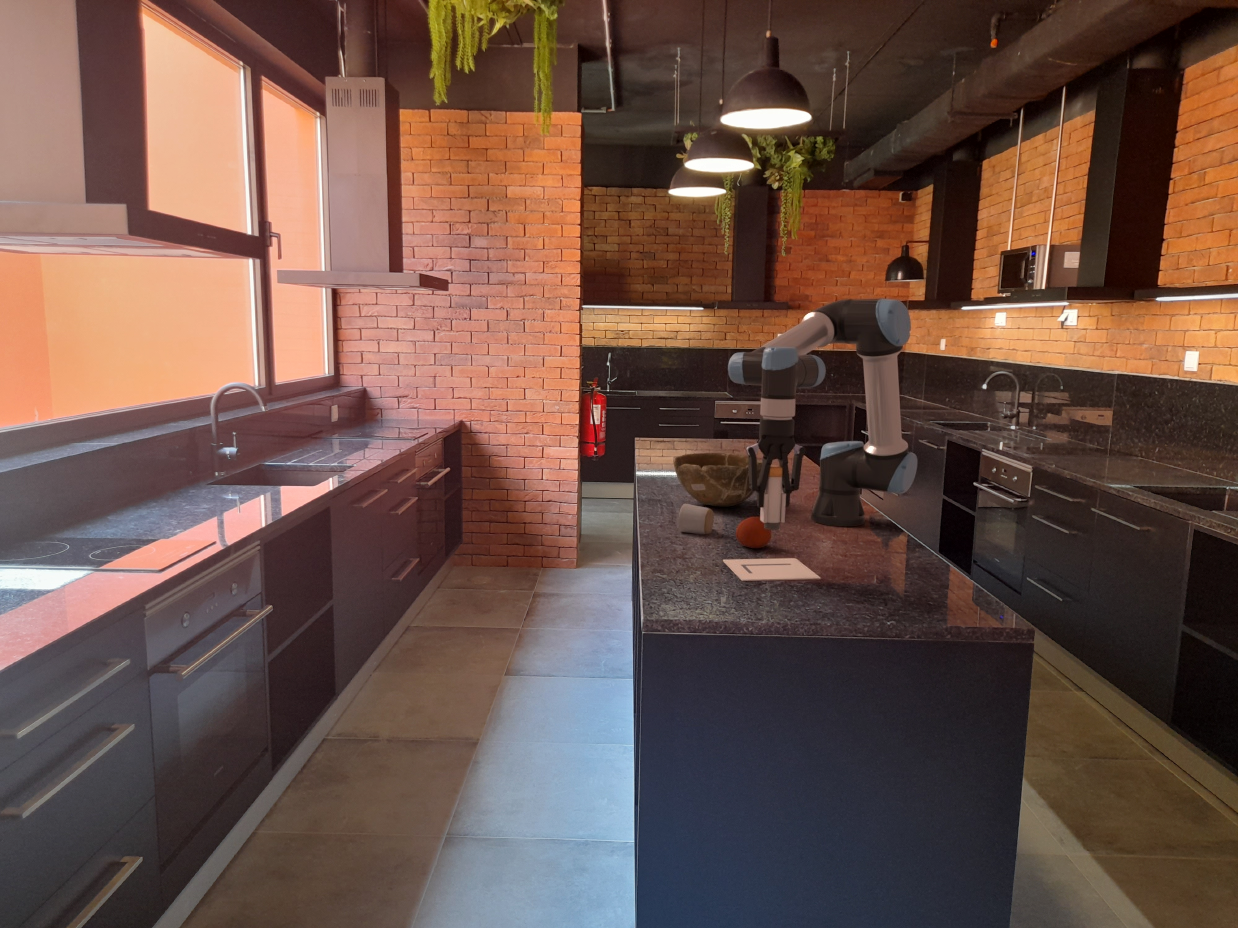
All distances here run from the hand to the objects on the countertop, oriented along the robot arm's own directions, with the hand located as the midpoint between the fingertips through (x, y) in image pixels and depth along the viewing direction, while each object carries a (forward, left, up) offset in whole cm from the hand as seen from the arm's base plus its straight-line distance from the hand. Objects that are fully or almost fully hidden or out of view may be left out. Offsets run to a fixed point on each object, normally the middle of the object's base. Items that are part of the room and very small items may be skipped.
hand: (772, 521), depth 190 cm
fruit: (-3, -22, -12) cm, 26 cm away
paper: (-1, -2, -12) cm, 12 cm away
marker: (0, 0, -2) cm, 2 cm away
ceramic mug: (+8, -39, -12) cm, 42 cm away
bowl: (-7, -71, -12) cm, 73 cm away
